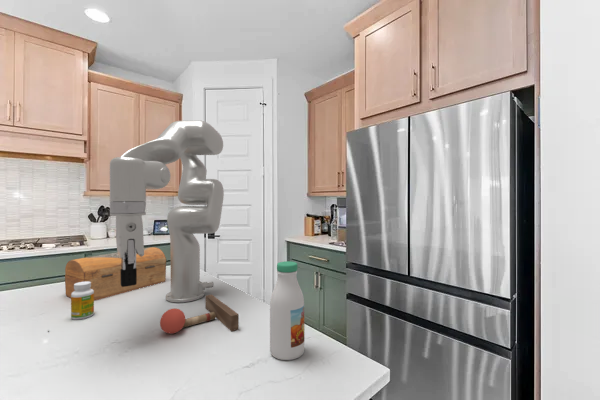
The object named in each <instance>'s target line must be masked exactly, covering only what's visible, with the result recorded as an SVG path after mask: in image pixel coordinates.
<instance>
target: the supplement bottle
mask: <svg viewBox="0 0 600 400" xmlns="http://www.w3.org/2000/svg"><path fill="white" fill-rule="evenodd" d="M90 287H91V282H89V281H85V282H78V283H75V284H74V290H75V291H74V292H72V294H71V298H70V318H71V320H74V321H75V320H85V319H88V318H91V317H92V316H94V314H95V301H94V290H93V289H90Z"/></svg>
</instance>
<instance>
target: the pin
mask: <svg viewBox="0 0 600 400" xmlns="http://www.w3.org/2000/svg"><path fill="white" fill-rule="evenodd" d="M216 319H217V318H216V315H215V312H211V313H210V312H207V313H204V314H199V315H196V316H192V317H189V318H185V324H184V326H183V328H187V327H190V326H195V325H198V324H202V323H206V322H210V321H212V320H216ZM183 328H182V329H183Z"/></svg>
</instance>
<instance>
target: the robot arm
mask: <svg viewBox="0 0 600 400" xmlns="http://www.w3.org/2000/svg"><path fill="white" fill-rule="evenodd" d="M223 149H224V141H223V138H222V136H221V134H220V132H218V130H216V129H215V127H213V126H212V125H211V124H210V123H208V122H207V121H203V120H176V121H174V122H171V123H170V124H169V125H168V126H167V127H166V128H165V129H164V130H163V132H161V133H160V135H158V136H157V137H156V138H155V139H152V140H150V141H147V142H144V143H142V144H140V145H137V146H135V147H132V148H131V149H128V150H126V151H125V152H124V153H123V154H122V155H120V156H118V157H114V158H112V159H111V160H110V162H109V216H110V217H115V239H116V240H115V242H116V250H117V251H116V252H117V253H118V255H119V256H120V257H121V268H122V269H121V286H122V287H126V286H132V285H136V284H137V268H136V253H137V254H138V255H139V256H140V257H142V256H143V255H144V248H145V246H144V245H145V241H144V222H143V216H146V215H147V206H146V205H147V190H160V189H163V188H165V187H166V186H167V185H169V183H170V182H171V171H170V169H169V167H168V166H167V165H169V164H171V163H175V162H177V161H178V160H179V159H180V161H181V163H182V173H181V178H180V181H179V186H178V191H177V199H178V201H179V202H180V203H181V204H183V205H182V206H181V205H179V206H175V207H173V208H171V209H170V210H169V212H168V214H167V217H166V221H167V227H168V232H169V241H170V291H169V292H168V293H166V294H165V300H166V301H167V302H171V303H189V302H193V301H196V300H199V299H201V298H203V297H204V296H205V289H212V288H214V287H215V285H214V282H213V281H211V282H208V281H204V282H202V281H200V280H201V276H200V275H201V273H200V272H201V271H200V267H201V265H200V264H201V263H200V260H201V258H200V256H201V254H200V253H201V248H200V247H201V246H200V242H199V241H198V239H197V238H196V236H195V235H194V234H197V235H198V234H200V235H201V234H207V235H209V234H214V233H216V232H217V231H218V230H219V228H220V226H221V225H220V224H221V218H222V212H223V203H224V196H225V193H224V192H225V191H224V185H223V184H222V182H221V181H220V180H218V179H215V178H207V172H208V171H207V167H206V166H205V164H204V163H203V162H202V160H201V159H200V158H199V157H198V156H217V155H219V154H221V153H222V152H223Z"/></svg>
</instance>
